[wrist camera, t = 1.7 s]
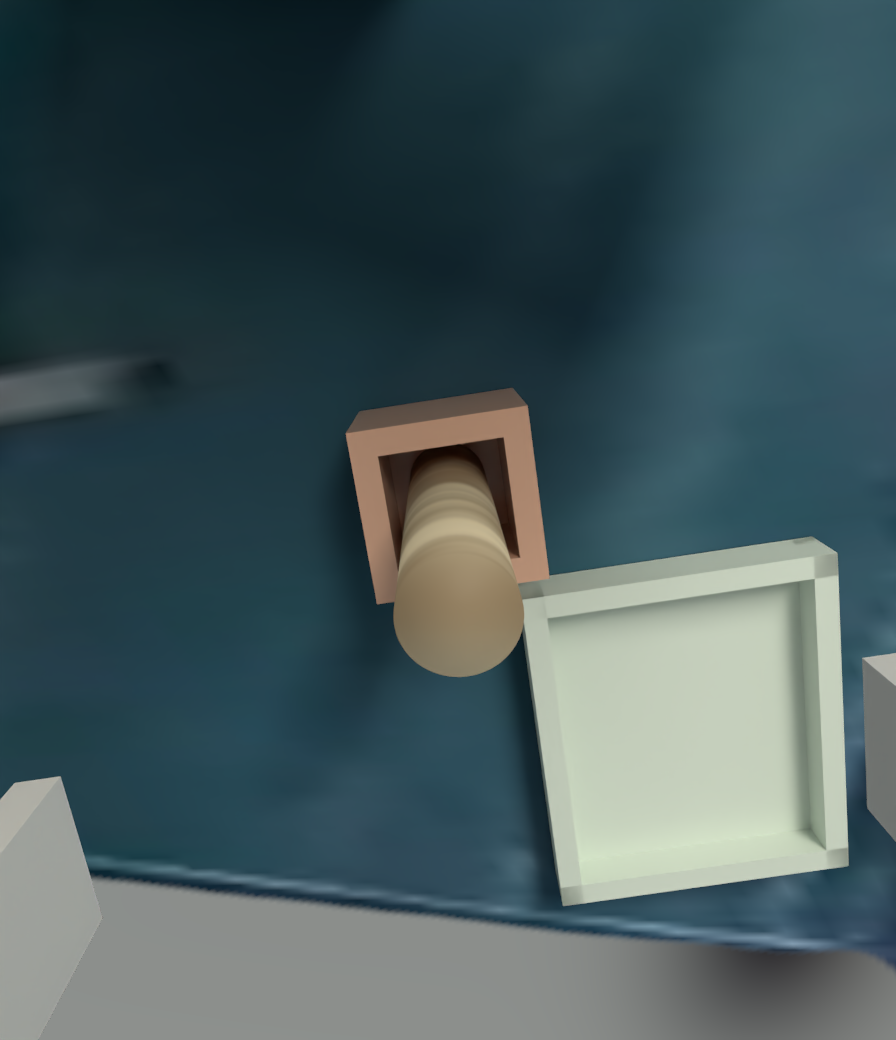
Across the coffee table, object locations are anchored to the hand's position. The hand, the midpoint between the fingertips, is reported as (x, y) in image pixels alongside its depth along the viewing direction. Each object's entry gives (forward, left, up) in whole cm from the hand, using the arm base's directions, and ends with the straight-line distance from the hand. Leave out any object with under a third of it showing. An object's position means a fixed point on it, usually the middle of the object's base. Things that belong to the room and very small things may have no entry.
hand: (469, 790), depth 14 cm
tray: (+13, +9, -24) cm, 29 cm away
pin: (0, 0, -23) cm, 23 cm away
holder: (0, 0, -24) cm, 24 cm away
